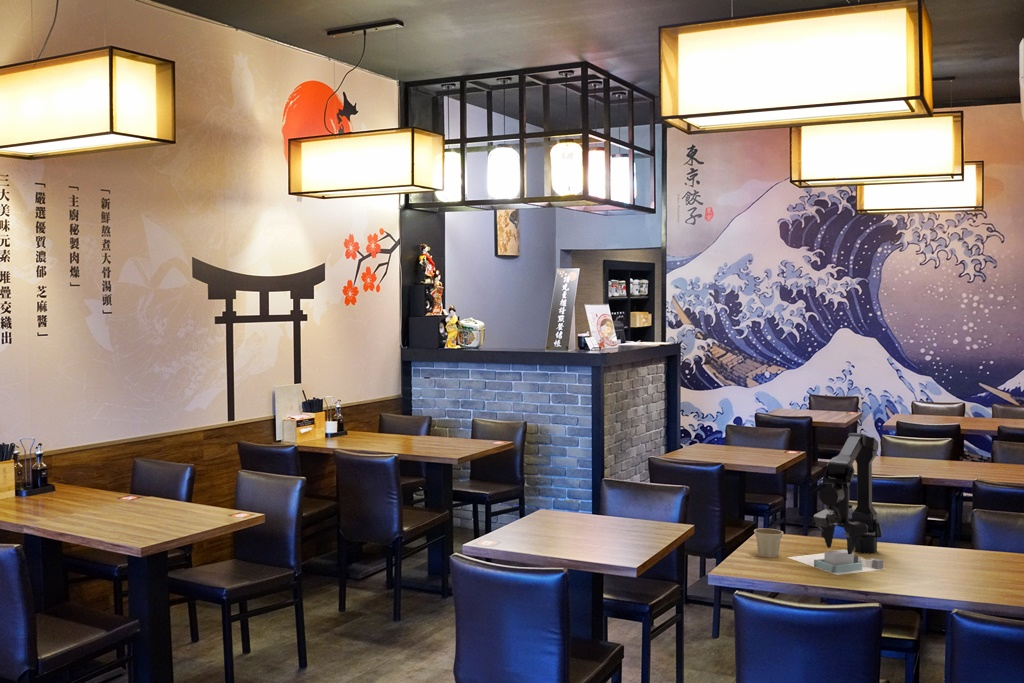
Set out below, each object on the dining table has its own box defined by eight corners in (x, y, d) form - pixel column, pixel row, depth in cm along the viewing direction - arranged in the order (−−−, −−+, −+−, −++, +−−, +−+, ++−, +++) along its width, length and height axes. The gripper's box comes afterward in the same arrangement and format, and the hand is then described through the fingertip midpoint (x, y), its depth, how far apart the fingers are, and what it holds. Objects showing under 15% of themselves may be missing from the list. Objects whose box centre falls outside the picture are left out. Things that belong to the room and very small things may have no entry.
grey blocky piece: (868, 563, 296) (868, 555, 296) (883, 568, 290) (883, 560, 290) (856, 565, 294) (856, 557, 294) (871, 570, 288) (871, 561, 288)
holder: (814, 566, 293) (814, 559, 293) (841, 563, 297) (841, 556, 297) (834, 573, 285) (834, 566, 285) (862, 569, 289) (862, 563, 289)
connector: (824, 567, 291) (824, 551, 291) (851, 564, 295) (851, 548, 295) (833, 570, 288) (833, 554, 288) (860, 567, 292) (860, 551, 292)
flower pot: (780, 554, 312) (780, 528, 312) (785, 561, 302) (785, 534, 302) (751, 553, 313) (751, 528, 313) (756, 560, 303) (756, 534, 303)
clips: (866, 563, 297) (866, 556, 297) (878, 567, 292) (878, 560, 292) (855, 564, 295) (855, 557, 295) (866, 568, 290) (866, 561, 290)
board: (832, 554, 312) (832, 552, 312) (885, 571, 290) (885, 569, 290) (786, 559, 304) (786, 557, 304) (837, 577, 283) (837, 574, 283)
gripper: (798, 497, 296) (798, 546, 296) (840, 508, 279) (839, 560, 279) (826, 495, 301) (826, 543, 301) (869, 505, 283) (868, 556, 283)
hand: (839, 550), depth 291 cm, fingers open, 9 cm apart
